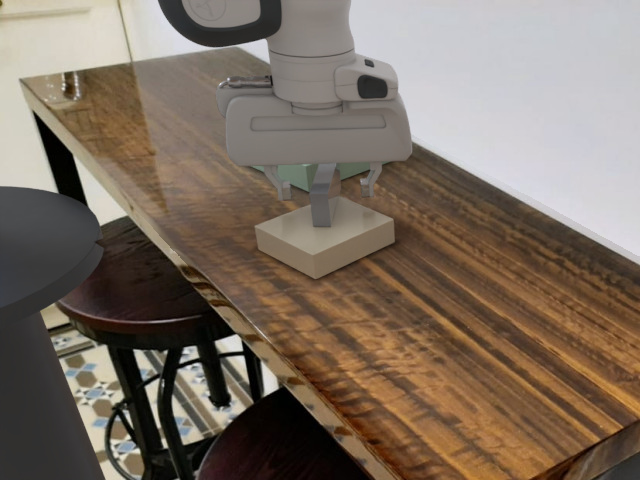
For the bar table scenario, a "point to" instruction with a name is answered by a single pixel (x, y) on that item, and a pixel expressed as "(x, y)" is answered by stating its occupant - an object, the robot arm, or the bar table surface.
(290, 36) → the robot arm
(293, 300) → the bar table surface
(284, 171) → the green tray
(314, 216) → the slate gray plank
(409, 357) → the bar table surface
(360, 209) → the block
